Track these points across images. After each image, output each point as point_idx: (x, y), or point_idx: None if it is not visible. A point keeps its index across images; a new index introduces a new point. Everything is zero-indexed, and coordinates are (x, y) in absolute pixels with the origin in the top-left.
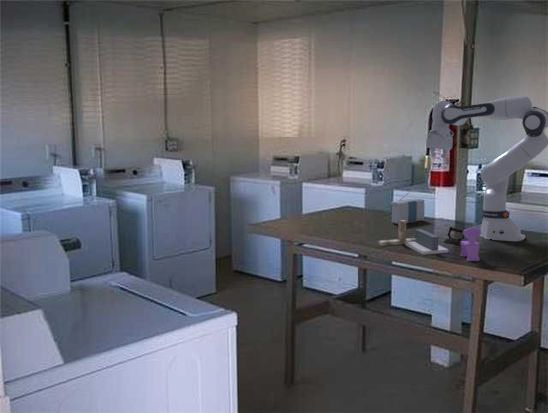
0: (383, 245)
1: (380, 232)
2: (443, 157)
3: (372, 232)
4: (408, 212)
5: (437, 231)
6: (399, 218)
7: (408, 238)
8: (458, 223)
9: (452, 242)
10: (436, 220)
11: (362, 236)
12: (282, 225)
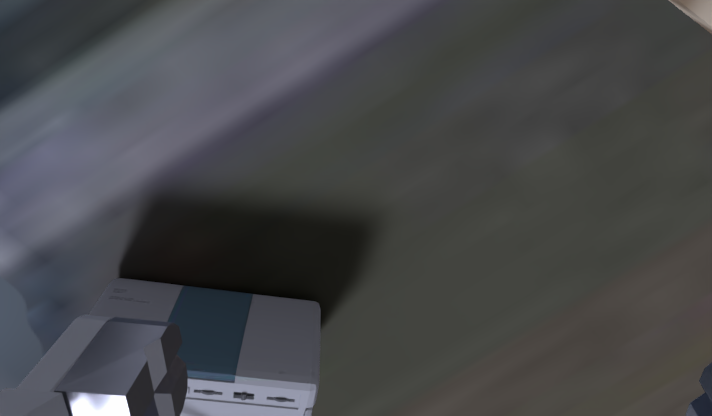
0: None
1: (539, 262)
2: (175, 332)
3: (561, 289)
4: (245, 325)
5: (321, 40)
6: (319, 319)
7: (698, 13)
8: (5, 74)
9: None
10: (49, 227)
11: (671, 269)
12: None
